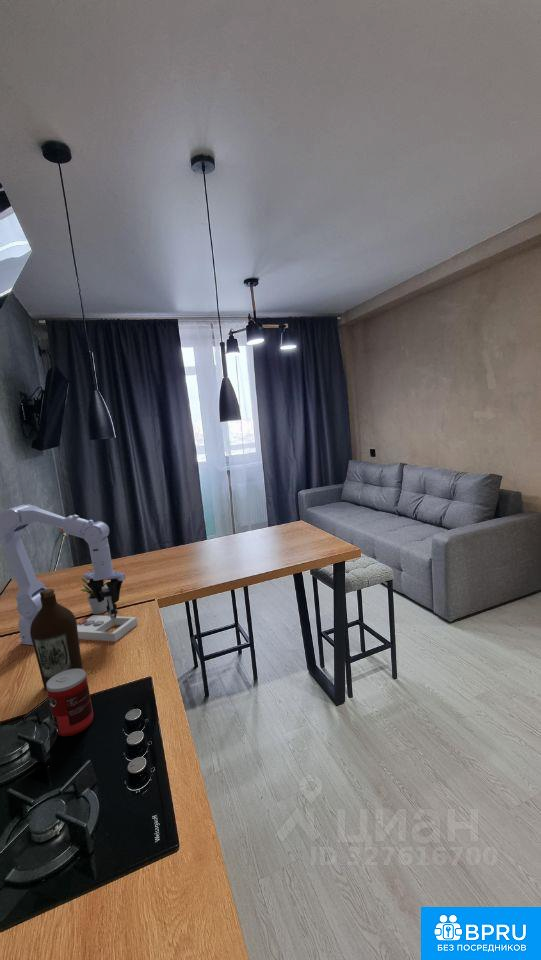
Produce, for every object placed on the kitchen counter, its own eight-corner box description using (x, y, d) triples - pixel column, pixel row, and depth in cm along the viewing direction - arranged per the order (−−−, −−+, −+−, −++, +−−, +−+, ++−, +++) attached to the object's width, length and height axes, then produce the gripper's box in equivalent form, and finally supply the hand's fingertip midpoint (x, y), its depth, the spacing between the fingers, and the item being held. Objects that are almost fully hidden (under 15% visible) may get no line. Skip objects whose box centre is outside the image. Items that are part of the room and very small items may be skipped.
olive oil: (48, 675, 114) (30, 587, 111) (89, 666, 116) (73, 580, 113) (35, 699, 104) (16, 603, 101) (81, 688, 106) (63, 594, 103)
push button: (122, 618, 133) (116, 588, 132) (104, 623, 131) (98, 592, 130) (122, 610, 139) (116, 582, 138) (105, 615, 138) (99, 586, 136)
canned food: (63, 715, 96) (54, 671, 95) (99, 710, 97) (90, 665, 95) (48, 740, 88) (38, 692, 87) (87, 733, 89) (78, 685, 88)
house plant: (132, 605, 156) (124, 563, 154) (99, 622, 145) (91, 576, 143) (107, 600, 164) (100, 560, 162) (75, 616, 152) (67, 573, 150)
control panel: (69, 638, 135) (68, 629, 135) (94, 622, 145) (92, 613, 145) (115, 641, 129) (114, 632, 129) (137, 624, 139) (136, 615, 139)
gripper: (73, 564, 132) (81, 606, 133) (111, 564, 127) (119, 607, 128) (90, 557, 138) (97, 596, 140) (126, 557, 133) (133, 597, 135)
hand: (108, 601), depth 135 cm, fingers closed on push button, 5 cm apart
